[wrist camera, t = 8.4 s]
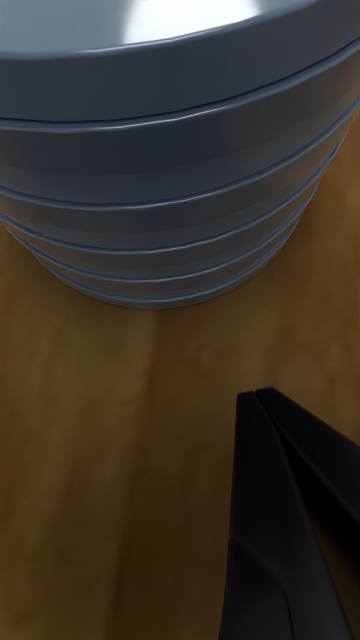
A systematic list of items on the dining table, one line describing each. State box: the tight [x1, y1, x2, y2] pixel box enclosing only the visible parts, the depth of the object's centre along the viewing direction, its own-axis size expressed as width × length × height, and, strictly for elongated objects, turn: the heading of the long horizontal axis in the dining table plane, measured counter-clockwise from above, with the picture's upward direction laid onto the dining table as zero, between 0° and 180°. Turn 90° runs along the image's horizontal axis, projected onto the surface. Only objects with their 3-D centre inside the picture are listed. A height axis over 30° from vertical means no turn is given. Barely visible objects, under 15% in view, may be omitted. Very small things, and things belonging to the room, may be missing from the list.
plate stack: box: [0, 0, 360, 309], centre depth 13 cm, size 17×17×12 cm
